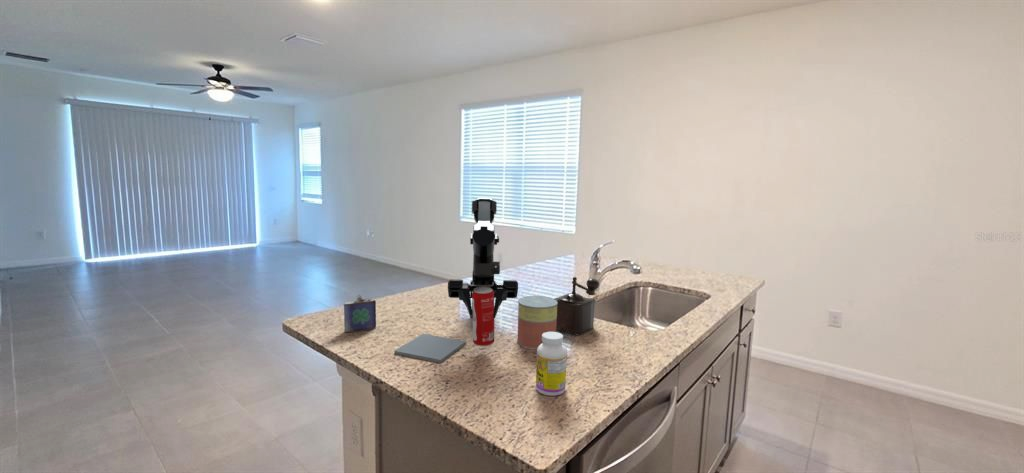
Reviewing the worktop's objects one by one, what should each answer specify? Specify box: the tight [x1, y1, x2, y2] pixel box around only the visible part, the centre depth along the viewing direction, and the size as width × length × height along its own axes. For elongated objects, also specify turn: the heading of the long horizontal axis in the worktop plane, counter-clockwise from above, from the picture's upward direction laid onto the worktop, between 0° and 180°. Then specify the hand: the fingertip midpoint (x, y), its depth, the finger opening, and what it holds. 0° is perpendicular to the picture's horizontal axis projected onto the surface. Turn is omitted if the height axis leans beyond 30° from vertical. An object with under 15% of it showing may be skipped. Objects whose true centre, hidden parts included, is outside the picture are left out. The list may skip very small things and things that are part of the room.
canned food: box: [516, 295, 558, 350], centre depth 128 cm, size 11×11×12 cm
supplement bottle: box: [535, 331, 568, 397], centre depth 99 cm, size 7×7×13 cm
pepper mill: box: [554, 276, 600, 336], centre depth 138 cm, size 16×11×18 cm
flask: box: [343, 294, 377, 334], centre depth 134 cm, size 9×3×11 cm, turn 121°
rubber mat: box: [394, 333, 467, 364], centre depth 122 cm, size 14×14×1 cm
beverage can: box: [471, 287, 495, 348], centre depth 117 cm, size 6×6×15 cm
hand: (482, 317), depth 116 cm, fingers closed on beverage can, 6 cm apart
